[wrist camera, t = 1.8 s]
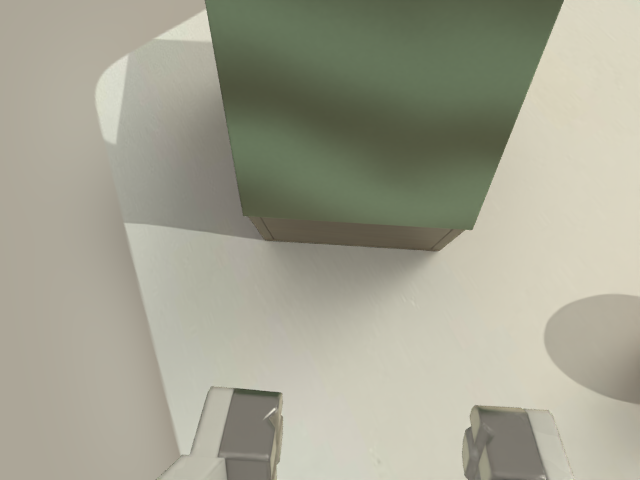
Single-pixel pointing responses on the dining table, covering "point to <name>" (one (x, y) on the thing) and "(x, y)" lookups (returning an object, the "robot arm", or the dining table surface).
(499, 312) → the dining table surface
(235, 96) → the lid
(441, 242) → the coldframe
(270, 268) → the dining table surface
